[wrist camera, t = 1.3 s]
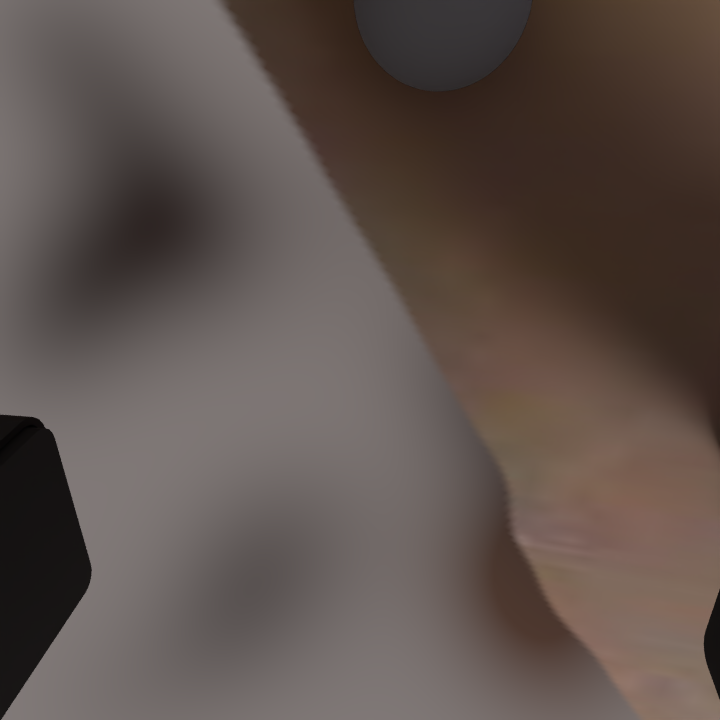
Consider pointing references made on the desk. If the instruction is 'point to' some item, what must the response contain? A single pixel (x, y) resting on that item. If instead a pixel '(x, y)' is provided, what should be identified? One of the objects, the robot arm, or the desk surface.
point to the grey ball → (440, 38)
